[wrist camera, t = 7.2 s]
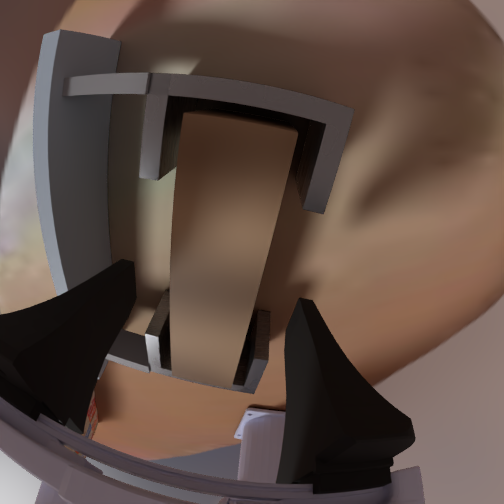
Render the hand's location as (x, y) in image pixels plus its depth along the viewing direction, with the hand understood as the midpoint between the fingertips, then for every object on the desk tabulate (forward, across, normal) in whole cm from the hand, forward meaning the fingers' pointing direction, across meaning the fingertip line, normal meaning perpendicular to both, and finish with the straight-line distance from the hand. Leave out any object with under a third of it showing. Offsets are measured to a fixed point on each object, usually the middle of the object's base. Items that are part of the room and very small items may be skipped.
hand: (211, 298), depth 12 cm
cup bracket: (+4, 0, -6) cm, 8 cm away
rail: (+5, 0, 0) cm, 5 cm away
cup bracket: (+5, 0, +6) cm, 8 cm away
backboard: (+5, +6, 0) cm, 8 cm away
